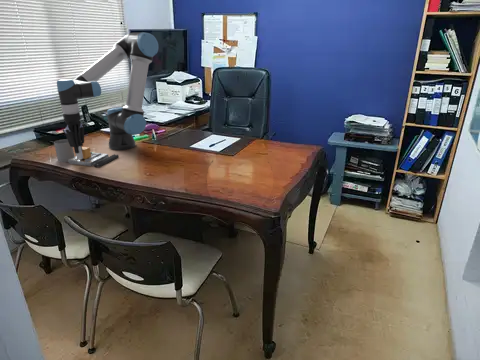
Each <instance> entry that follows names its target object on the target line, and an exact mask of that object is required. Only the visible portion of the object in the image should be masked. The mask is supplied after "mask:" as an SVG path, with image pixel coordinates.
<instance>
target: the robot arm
mask: <svg viewBox="0 0 480 360" xmlns="http://www.w3.org/2000/svg"><path fill="white" fill-rule="evenodd" d="M158 52H159V42H158V40H157V38H156V37H155V35H153V34H151V33H149V32H143V31H142V32H130V33H127V34H126V35H124V36H123V37H122V38H121V39H119V40H117V42H116V43H114V44H113V48H111V49H110V50H109V51H108V52H107V53H105V54H104V55H102V56H101V57H100V58H99V59H98V60H96V61H95V62H94V63H93V64H91V65H90V66H89V67H88V68H86V69H85V70H84V71H83V72H82V73H80V74H78V76H76V77H75V78H62V79H58V80H57V81H56V88H57V92H58V93H57V94H58V96H59V103H60V107H61V112H62V113H63V114H62V117H63V122H65V128H64V129H62V132H63V133H64V134H65V138H66V139H67V140H68V142H69V145H70V146H71V147H73V151H74V154H75V155H76V156H75V157H77V159H83V154H82V147H84V144H85V127H86V124H84V123H81V120H82V118H81V113H80V107H79V102H78V100H81V99H91V98H96V97H100V96H101V95H102V86H101V84H100V83H99V80H100V79H102V78H103V77H104V76H105V75H106V74H107V73H109V72H111V70H112V69H114V68H115V67H116V66H118V65H119V64H120V63H121V62H122V61H126V60H129V58H131V60H132V62H131V66H130V67H131V69H130V76H129V82H128V88H127V94H126V102H125V105H124V106H120V107H119V106H118V107H112V108H108V109H107V110H106V111H107V112H106V113H107V114H106V117H107V122H108V127H109V134H110V135H109V140H108V148H109V149H110V150H113V151H114V150H116V151H123V150H130V149H133V148H135V147H136V141H135V139H134V137H133V135H139V134H141V133H143V132H144V131H145V129H146V127H147V120H146V118H145V117H144V114H145V111H144V109H143V103H144V98H145V89H146V84H147V76H148V71H149V65H150V64H151V63H152V62H153V60H154V59H153V57H154V56H156V55H157V54H158Z"/></svg>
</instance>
